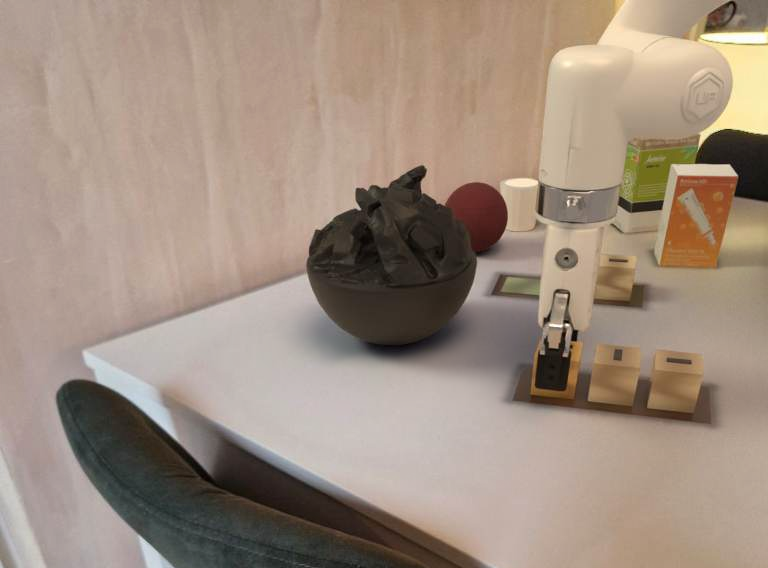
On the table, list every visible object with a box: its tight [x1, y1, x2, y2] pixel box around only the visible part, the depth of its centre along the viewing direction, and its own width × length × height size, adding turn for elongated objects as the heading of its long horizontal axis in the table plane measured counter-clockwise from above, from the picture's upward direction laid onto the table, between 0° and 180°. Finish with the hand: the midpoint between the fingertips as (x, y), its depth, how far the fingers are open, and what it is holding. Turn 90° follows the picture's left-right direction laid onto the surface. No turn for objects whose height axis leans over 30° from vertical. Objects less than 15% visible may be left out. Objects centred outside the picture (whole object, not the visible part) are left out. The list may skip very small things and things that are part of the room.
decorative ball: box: [444, 181, 508, 253], centre depth 116 cm, size 10×10×10 cm
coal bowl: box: [305, 164, 478, 346], centre depth 89 cm, size 20×20×19 cm
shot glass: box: [499, 177, 538, 232], centre depth 126 cm, size 7×7×7 cm
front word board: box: [512, 343, 712, 425], centre depth 80 cm, size 20×8×5 cm, turn 73°
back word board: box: [490, 253, 645, 309], centre depth 103 cm, size 20×8×5 cm, turn 73°
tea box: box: [611, 133, 701, 234], centre depth 124 cm, size 15×10×15 cm, turn 10°
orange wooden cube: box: [531, 337, 584, 400], centre depth 82 cm, size 5×5×5 cm
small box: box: [653, 163, 739, 268], centre depth 109 cm, size 8×6×13 cm
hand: (555, 367), depth 81 cm, fingers open, 9 cm apart
